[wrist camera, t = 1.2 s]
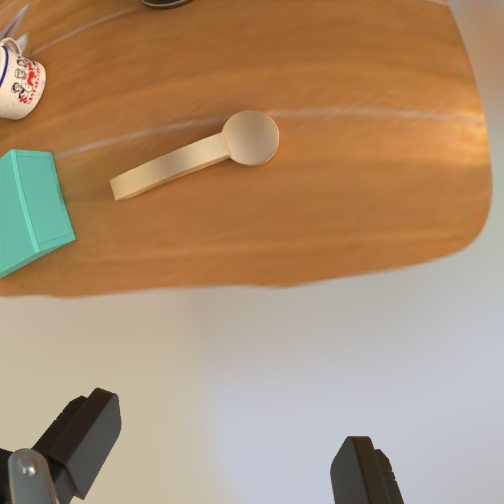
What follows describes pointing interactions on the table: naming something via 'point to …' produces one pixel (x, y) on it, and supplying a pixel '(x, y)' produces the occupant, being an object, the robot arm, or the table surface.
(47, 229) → the box
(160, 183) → the spoon
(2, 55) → the teacup with lid
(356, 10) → the table surface
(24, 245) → the lunchbox lid
